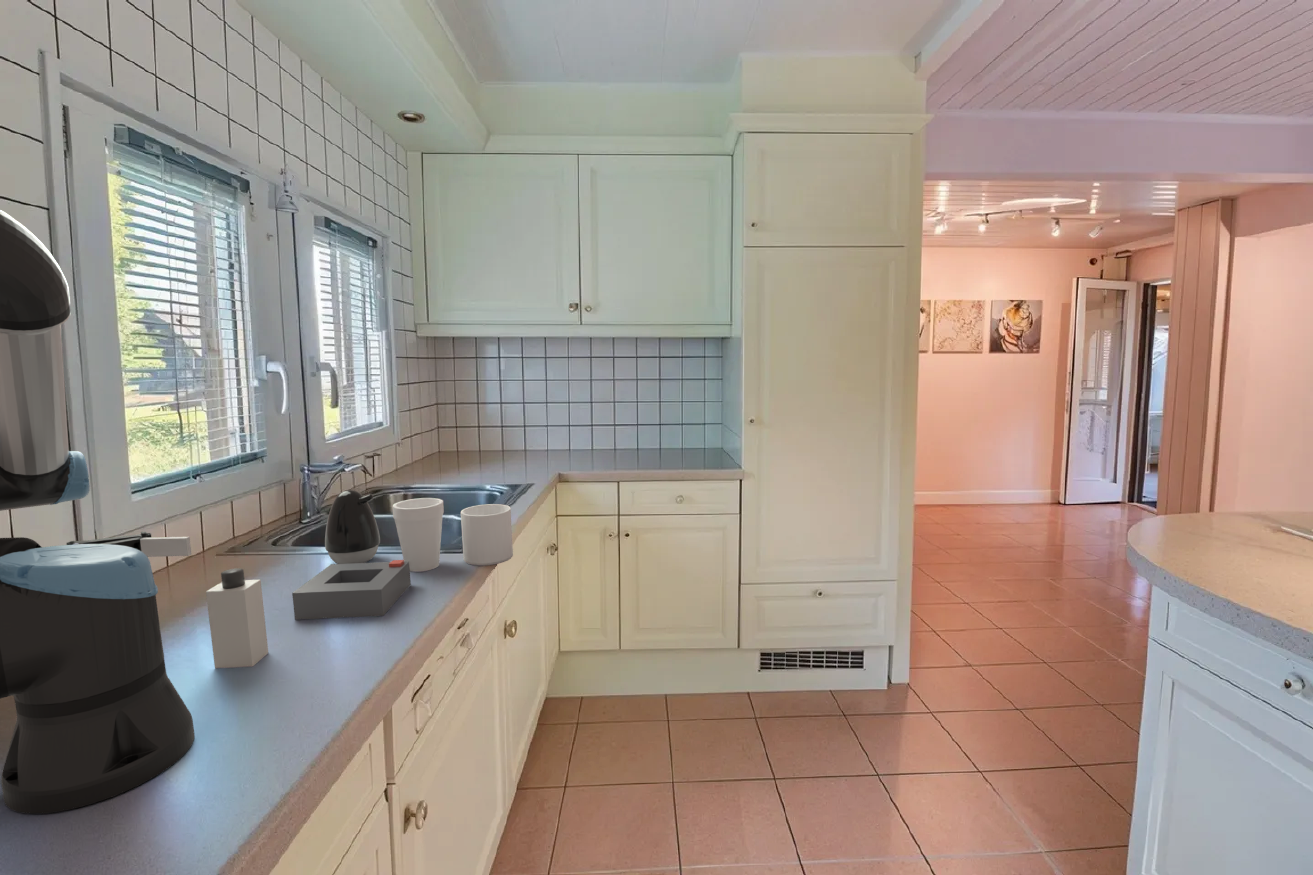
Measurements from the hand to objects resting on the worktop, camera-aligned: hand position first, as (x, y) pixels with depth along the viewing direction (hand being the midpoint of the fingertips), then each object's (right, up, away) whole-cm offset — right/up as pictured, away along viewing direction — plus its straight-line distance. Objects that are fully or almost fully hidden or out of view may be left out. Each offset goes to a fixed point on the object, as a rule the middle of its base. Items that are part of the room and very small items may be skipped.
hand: (156, 561), depth 87 cm
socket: (+17, -11, +23) cm, 30 cm away
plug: (+11, -14, +2) cm, 18 cm away
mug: (+34, -8, +46) cm, 58 cm away
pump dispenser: (+7, -9, +44) cm, 45 cm away
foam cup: (+22, -9, +40) cm, 47 cm away
